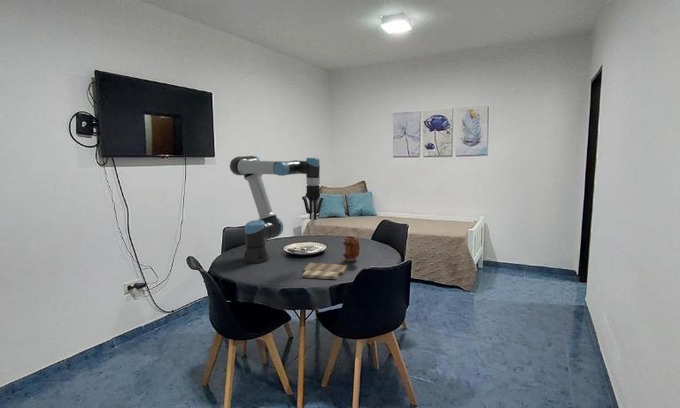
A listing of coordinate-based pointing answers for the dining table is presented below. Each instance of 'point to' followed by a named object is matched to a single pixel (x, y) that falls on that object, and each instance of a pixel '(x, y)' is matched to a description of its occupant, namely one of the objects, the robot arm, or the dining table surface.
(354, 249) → the mug
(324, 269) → the floorboard
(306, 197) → the robot arm
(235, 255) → the dining table surface
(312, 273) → the plank
